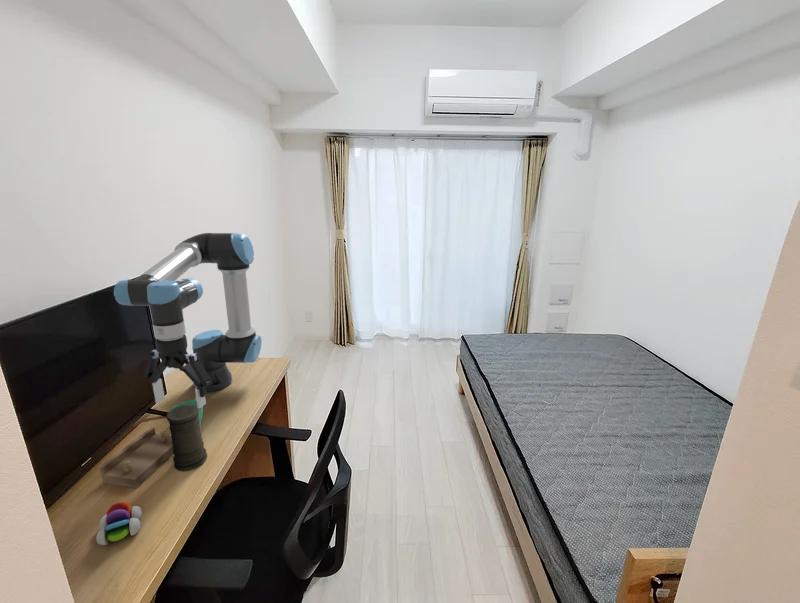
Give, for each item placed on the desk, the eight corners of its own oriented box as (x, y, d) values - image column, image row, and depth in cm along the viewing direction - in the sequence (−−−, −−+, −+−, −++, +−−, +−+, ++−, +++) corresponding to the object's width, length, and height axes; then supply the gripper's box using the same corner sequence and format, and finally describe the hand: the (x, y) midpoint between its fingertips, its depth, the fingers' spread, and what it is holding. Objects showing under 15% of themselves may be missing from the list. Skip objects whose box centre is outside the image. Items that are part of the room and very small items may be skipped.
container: (213, 455, 121) (206, 406, 116) (191, 474, 113) (182, 422, 108) (190, 449, 124) (182, 401, 118) (167, 468, 115) (157, 416, 110)
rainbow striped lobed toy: (143, 510, 101) (138, 488, 99) (139, 539, 93) (134, 516, 90) (104, 522, 97) (98, 500, 95) (96, 554, 89) (90, 530, 86)
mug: (198, 442, 127) (194, 416, 124) (168, 442, 127) (163, 416, 124) (217, 416, 141) (214, 393, 138) (190, 416, 141) (186, 392, 138)
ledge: (154, 440, 127) (151, 425, 125) (183, 445, 126) (181, 429, 124) (103, 482, 109) (98, 465, 107) (136, 488, 108) (133, 470, 106)
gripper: (119, 337, 104) (133, 405, 110) (202, 345, 101) (211, 415, 107) (141, 328, 111) (153, 392, 117) (219, 335, 108) (227, 401, 114)
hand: (181, 403), depth 112 cm, fingers open, 13 cm apart
